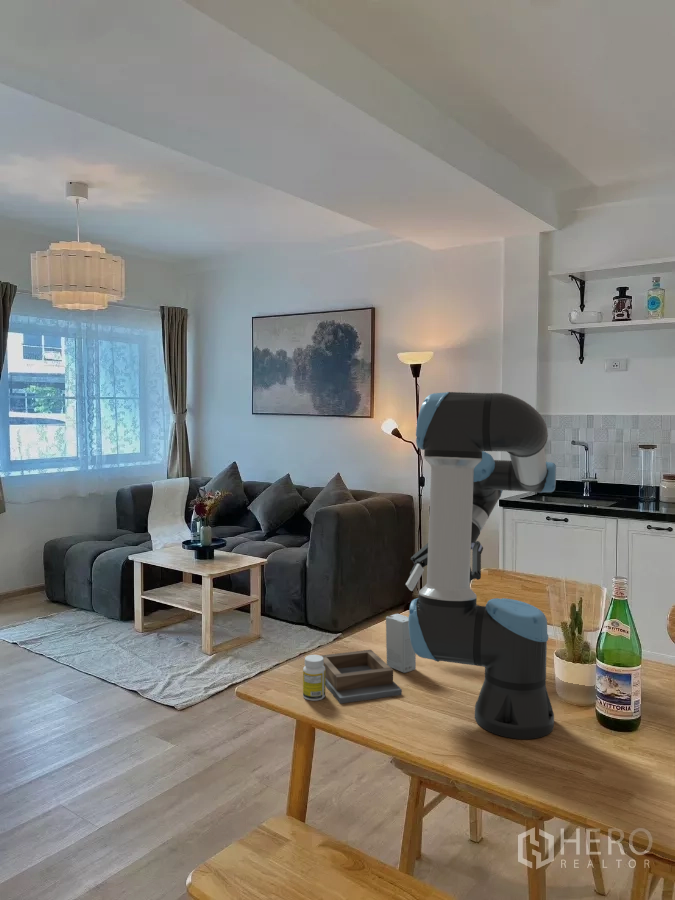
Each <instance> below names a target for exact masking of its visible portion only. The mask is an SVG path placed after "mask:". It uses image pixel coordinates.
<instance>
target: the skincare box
mask: <svg viewBox="0 0 675 900" xmlns="http://www.w3.org/2000/svg"><path fill="white" fill-rule="evenodd" d="M385 631H386V632H385V635H386V636H385V640H386V641H385V643H386V646H385V648H386V664H387V665H388V666H389V667H390V668H392V669H393V670H396V671H399V672H401V673H404V674H405V673H408V672H409V673H410V672H412V671H415V670H416V669H417V667H416V664H417V662H416V661H417V660H416V659H417V658H416V656H417V654H416V653H415V652H414V650H413V648H412V645H411V641H410V635H409V616H406V615H403V614H400V613H394V614H391V615H387V616H386V617H385Z"/></svg>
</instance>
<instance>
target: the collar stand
mask: <svg viewBox="0 0 675 900" xmlns="http://www.w3.org/2000/svg"><path fill="white" fill-rule="evenodd" d="M320 656H322V657H323V658H324V665H323V666H324V667H325V688H327V689H328V690H329V692H330V693H331V694H332V696H333V697H334V698H335V700H336V701H337V702H338V703H339V704H347V703H348V704H349V703H354V702H355V703H356V702H361V701H368V700H375V699H383V698H389V697H395V696H396V697H397V696H402V695H403V693H402V692H403V691H402V690H403V689H402V688H401V687H400V686H399V685H398V684H396V682H395V681H394V668H391V667H389V666H388V665H387V662H385V661H384V660H383V659H382V658H381V657H379V655H377V653H375V652H374V651H373V650H372V649H363V650H355V651H348V652H340V653H332V654H322V655H320Z"/></svg>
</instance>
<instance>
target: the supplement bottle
mask: <svg viewBox="0 0 675 900" xmlns="http://www.w3.org/2000/svg"><path fill="white" fill-rule="evenodd" d="M323 665H324V658H323V657H322V656H320V655H319V654H309V655H306V656H305V657H304V666H303V668H302V696H303V698H304V699H305V700H308V701H314V702H316V701H322V700H323V699H324V698H325V697H326V686H325V667H324V666H323Z"/></svg>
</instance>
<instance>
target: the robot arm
mask: <svg viewBox="0 0 675 900" xmlns="http://www.w3.org/2000/svg"><path fill="white" fill-rule="evenodd" d="M415 431H416V432H415V436H416V439H415V443H416V446H417V448H418V449H420V450H422V451H423V452H424V453H423V454H424V455H423V458H424V460H425V461H426V462H427V463H428V464H429V465H430V487H429V488H430V489H429V490H430V491H429V513H428V514H429V515H428V516H429V517H428V518H429V519H428V538H427V541H428V543H426V544H425V545H424V546H423V547H421V548H420V549H419V550H418V551H417V552H415V553H414V554H413V555H412V556H411V557H410V560H411V561H412V562H413V564H414V565H413V567H412V569H411V570H410V572H409V577H408V579H407V581H406V582H405V586H406V587H407V588H408V590H409V591H411V592H413V591H414V589H415V587H416V586H417V584H418V582H419V581H420V578H421V577H422V575H423V573H424V572H425V569H424V568H425V567H427V568H426V569H427V570H426V583H425V585H424V586H423V587H422V588H421V589H420V590H418V597H417V598H414V599H412V600H411V602H410V604H409V614H408V617H409V635H410V641H411V645H412V648H413V650H414V652H415V653H416V656H418V657H420V658H422V659H428V660H433V661H435V662H446V663H447V662H448V663H452V664H453V663H454V664H462V665H470V666H474V667H475V666H477V667H483V668H484V680H483V684H482V686H481V689H480V692H479V693H478V694H479V695H478V698H477V700H476V702H475V705H474V720H475V721H476V723H477V725H478V726H479V727H481V728H483V730H486V731H488V732H490V733H492V734H495V735H496V736H501V737H505V738H510V739H518V740H519V739H520V740H533V739H539V738H542V737H546V736H548V735H549V734H551V732H552V731H553V730H554V727H555V713H554V710H553V706H552V703H551V700H550V697H549V693H548V691H547V685H546V684H547V682H546V681H547V653H548V652H547V650H548V648H547V643H548V642H549V634H548V619H547V617H546V614H545V613H544V612H543V611H542V610H541V609H539V608H538V607H536V606H534V605H533V604H529V603H527V602H524V601H521V600H517V599H512V598H506V597H505V598H498V597H497V598H491V599H489V600H488V601H487V602H486V603H485V605H477V599H478V598H477V596H478V595H477V594H476V593H475V592H474V590H472V589H471V587H470V586H471V585H470V583H471V582H472V581H473V580H478V581H479V580H481V578H482V576H481V575H482V553H483V550H484V547H483V545H482V544H481V542H480V540H478V538H479V537H480V534H481V532H482V530H483V529H484V527H485V525H486V522H487V521H488V519H490V515H491V513H492V512H493V510H494V508H495V507H496V505H497V503H498V501H499V500H500V498H501V496H502V493H503V491H512V492H513V491H514V492H527V493H528V492H529V493H539V494H542V493H553V492H554V491H555V490H556V482H557V465H556V464H555V462H551V461H547V460H546V451H545V450H546V449H545V446H546V444H547V441H548V436H549V435H548V434H549V433H548V427H547V423H546V421H545V419H544V417H543V416H542V415H541V413H539V412H538V410H536V408H535V407H533V406H532V405H531V404H530V403H528V402H526V401H524V400H523V399H521V398H519V397H517V396H514V395H511V394H508V393H503V392H460V391H457V392H456V391H454V392H453V391H447V392H434V393H430V394H429V395H427V396H426V397H425V398H424V400H423V402H422V404H421V407H420V409H419V413H418V417H417V421H416V428H415ZM489 452H507V453H508V455H509V458H510V460H503V459H494V456H492V454H490V453H489ZM471 553H472V558H471ZM471 559H472V562H471ZM471 563H472V564H471ZM471 565H472V567H471Z"/></svg>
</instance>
